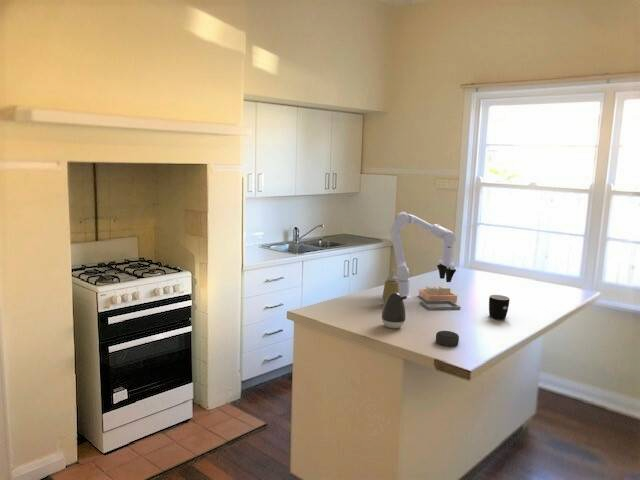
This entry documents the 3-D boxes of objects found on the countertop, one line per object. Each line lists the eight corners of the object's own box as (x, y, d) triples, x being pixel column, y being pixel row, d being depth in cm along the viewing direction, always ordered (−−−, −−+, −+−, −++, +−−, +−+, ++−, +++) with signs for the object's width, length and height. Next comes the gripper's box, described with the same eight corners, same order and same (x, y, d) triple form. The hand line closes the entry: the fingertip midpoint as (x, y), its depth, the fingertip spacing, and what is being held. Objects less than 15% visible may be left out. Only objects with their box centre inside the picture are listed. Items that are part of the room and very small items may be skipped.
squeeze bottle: (400, 304, 265) (403, 269, 262) (395, 308, 258) (398, 272, 255) (384, 302, 268) (387, 267, 265) (379, 305, 261) (382, 269, 258)
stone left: (428, 299, 275) (429, 288, 274) (425, 297, 279) (426, 286, 278) (436, 299, 275) (437, 288, 275) (433, 297, 280) (434, 286, 279)
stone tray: (429, 311, 256) (429, 307, 256) (419, 304, 267) (420, 300, 267) (460, 310, 260) (460, 306, 259) (449, 304, 271) (450, 300, 270)
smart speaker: (432, 339, 217) (433, 329, 217) (454, 339, 218) (455, 330, 217) (438, 347, 208) (439, 337, 208) (461, 347, 209) (462, 337, 208)
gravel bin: (428, 303, 270) (429, 295, 269) (418, 296, 283) (419, 289, 282) (456, 303, 273) (457, 295, 273) (445, 296, 286) (445, 289, 285)
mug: (502, 322, 244) (504, 300, 243) (483, 317, 250) (486, 296, 249) (513, 317, 253) (515, 296, 252) (495, 313, 259) (497, 292, 258)
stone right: (441, 299, 276) (442, 288, 275) (437, 297, 280) (438, 286, 279) (449, 299, 277) (450, 288, 276) (445, 297, 281) (446, 286, 280)
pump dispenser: (399, 332, 223) (402, 296, 221) (376, 327, 228) (379, 292, 226) (409, 326, 232) (411, 292, 229) (387, 321, 237) (389, 288, 235)
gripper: (461, 257, 269) (458, 283, 271) (448, 251, 283) (446, 276, 285) (448, 257, 267) (445, 283, 269) (436, 251, 281) (433, 276, 283)
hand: (445, 280), depth 277 cm, fingers open, 7 cm apart
